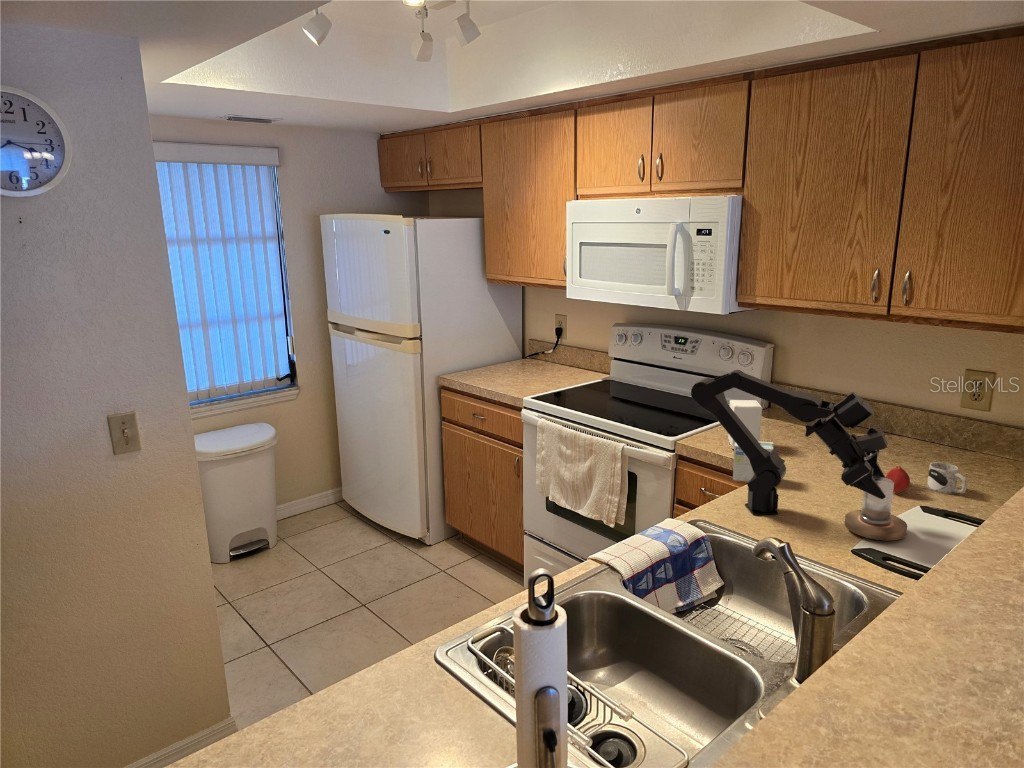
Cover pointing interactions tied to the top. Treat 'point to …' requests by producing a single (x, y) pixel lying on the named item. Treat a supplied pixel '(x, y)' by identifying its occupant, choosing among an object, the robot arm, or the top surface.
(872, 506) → the canister
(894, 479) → the onion
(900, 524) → the turntable
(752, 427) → the supplement box
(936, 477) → the mug
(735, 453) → the light bulb box
